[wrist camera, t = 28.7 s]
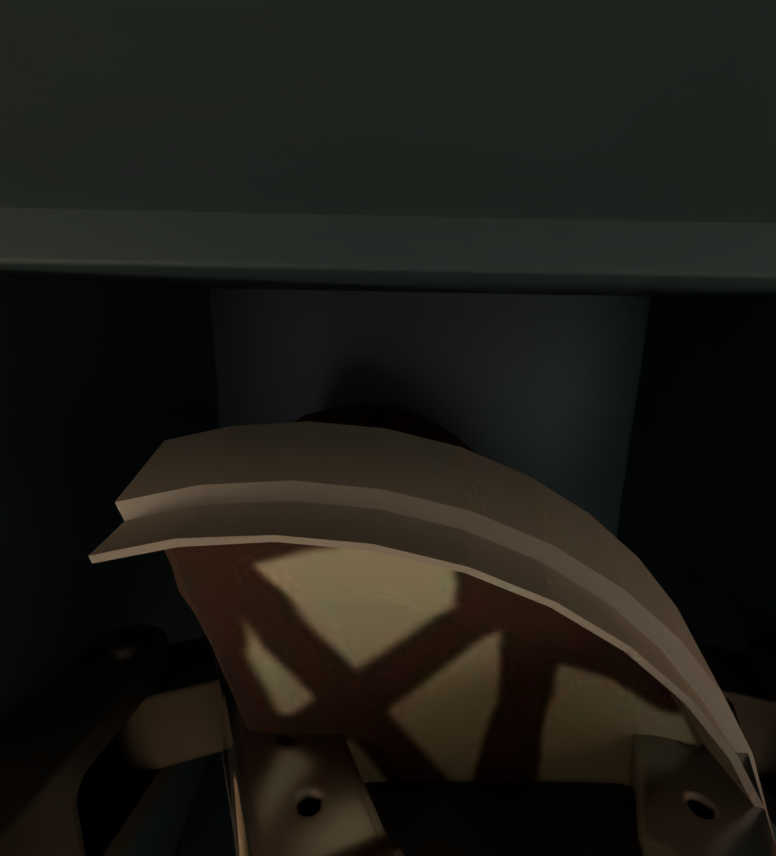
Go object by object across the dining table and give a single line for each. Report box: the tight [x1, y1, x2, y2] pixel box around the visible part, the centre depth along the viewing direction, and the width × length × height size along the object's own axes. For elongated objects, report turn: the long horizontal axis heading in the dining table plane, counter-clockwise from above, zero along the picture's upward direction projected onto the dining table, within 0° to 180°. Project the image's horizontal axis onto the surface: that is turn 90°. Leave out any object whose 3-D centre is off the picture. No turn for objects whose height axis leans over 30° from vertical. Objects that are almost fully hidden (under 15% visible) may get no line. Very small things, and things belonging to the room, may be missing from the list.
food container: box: [89, 406, 776, 845], centre depth 10 cm, size 12×6×10 cm, turn 17°
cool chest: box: [0, 208, 776, 856], centre depth 12 cm, size 16×15×11 cm
